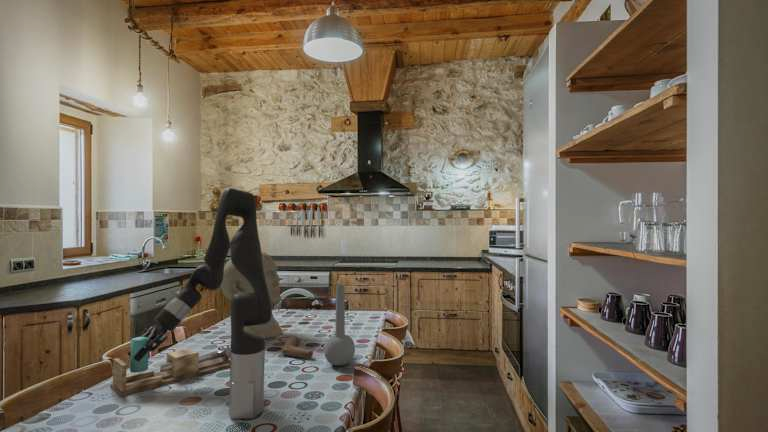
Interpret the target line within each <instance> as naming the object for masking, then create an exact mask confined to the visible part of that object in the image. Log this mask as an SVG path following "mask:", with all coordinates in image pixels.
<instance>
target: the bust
mask: <svg viewBox="0 0 768 432" xmlns="http://www.w3.org/2000/svg"><path fill="white" fill-rule="evenodd" d="M261 253H262V262H263V270H264V275H265V280H266V284H267V288H268V292H269V296H270V301H271V308H272V310H273V308H274V307H276V305H278V304H279V303H281V301H282V296H281V294H280V289H281V287H280V276H279V274H278V270H277V269H278V265H277V263H276V262H275V260H274V259H273V257H272V256H270V255H269V254H268V253H267V252H264V251H262V250H261ZM220 289H221V291H222V293H223V295H224V297H225V298H226V299H227V300H228V301H230V302H231V299H232V297H233V296H234V295H235V294H239V293H253V292H254V290H253V288H252V286H251V284H250V283H249V281H248V280H247V279H246V278H245V277H244V276H243V275H242V274H241V273H240V272H239V271H238V270H237V269H236V268H235V267H234V265H233V263H232V261H231V258H230V259H228V260H227V262H226V263H225V264H224V276H223V281H222V283H221V285H220ZM243 329H244V331H246V332H247V333H250V334H253V335H257V336H261V337H262V338H264V340H266V339H269V338H272V337H276V336H279V335H281V334H282V333H283V332H282V328H281V326H280V324H279V321H278V320H276V318H275V317H274V315H273V313H272V314H271V319H270V321H269V322H268V323H266V324H261V325H252V326H244V328H243Z"/></svg>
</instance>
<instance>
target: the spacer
mask: <svg viewBox="0 0 768 432" xmlns="http://www.w3.org/2000/svg"><path fill="white" fill-rule="evenodd" d="M147 338H148V337H133V338H131V339H130V350H131V355H129V357H130V361H129V362H130V363H129V364H130V365H129V371H130V373H134V374H138V373H142V372H146V371H148V369H149V353H150V352H147V353H146V355H145V356H144V357H143V358H142V359H141V360H140V361H136V360H135V359H134V358H133V357H134V356H135V355H136V353H137V352H138V351H139V350H140V349H141V348H143V346H144V345H145V343H146V342H147V341H146V340H147Z"/></svg>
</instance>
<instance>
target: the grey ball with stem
mask: <svg viewBox="0 0 768 432" xmlns="http://www.w3.org/2000/svg"><path fill="white" fill-rule="evenodd" d="M345 286H346V285H345V284H337V285H336V297H335V299H336V300H335V326H334V327H335V331H334V333H333V335H331V336H329V337H328V338H327V339H326V341H325V344H324V349H323V351H324V352H323V353H324V357H325V359H326V361H327V362H328V363H329V364H331V365H333V366H336V367H341V366H342V367H343V366H346V365H348V364H349V363H350V362H351V361H352V360H353V358H354V356H355V353H356V345H355V342H354V340H353V338H352V337H351V336H350V335H348V334H345V333H346V332H345V331H346V330H345V328H346V327H345V325H346V324H345V323H346V321H345V318H346V314H345V313H346V305H345V304H346V301H345V300H346V298H345V297H346V294H345V293H346V287H345Z"/></svg>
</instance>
